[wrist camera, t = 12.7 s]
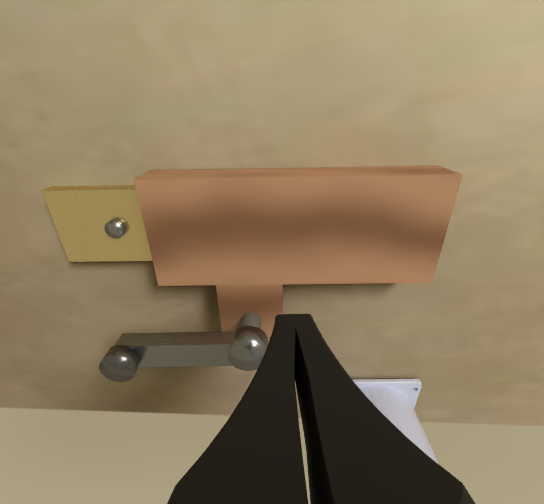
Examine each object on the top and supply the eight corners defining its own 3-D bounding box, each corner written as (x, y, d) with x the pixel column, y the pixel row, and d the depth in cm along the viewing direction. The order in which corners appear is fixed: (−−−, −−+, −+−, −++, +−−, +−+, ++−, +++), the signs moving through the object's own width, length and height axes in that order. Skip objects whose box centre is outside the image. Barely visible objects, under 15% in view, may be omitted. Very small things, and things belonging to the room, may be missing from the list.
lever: (267, 325, 18) (266, 351, 16) (268, 353, 19) (268, 381, 17) (112, 328, 18) (93, 355, 16) (122, 356, 19) (106, 384, 17)
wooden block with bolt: (162, 250, 21) (153, 263, 20) (81, 251, 21) (65, 264, 20) (148, 183, 19) (135, 191, 17) (57, 184, 19) (36, 192, 17)
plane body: (403, 313, 23) (428, 354, 19) (180, 315, 23) (162, 357, 20) (438, 165, 18) (483, 182, 14) (150, 170, 18) (118, 188, 14)
